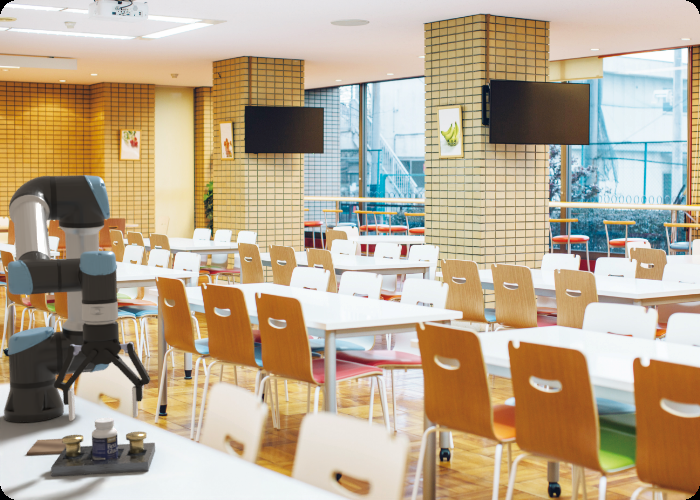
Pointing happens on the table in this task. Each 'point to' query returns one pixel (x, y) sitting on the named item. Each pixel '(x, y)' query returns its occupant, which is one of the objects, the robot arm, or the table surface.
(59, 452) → the coaster
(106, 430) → the pill bottle
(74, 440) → the plunger
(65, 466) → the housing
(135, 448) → the plunger
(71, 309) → the robot arm
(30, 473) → the table surface
